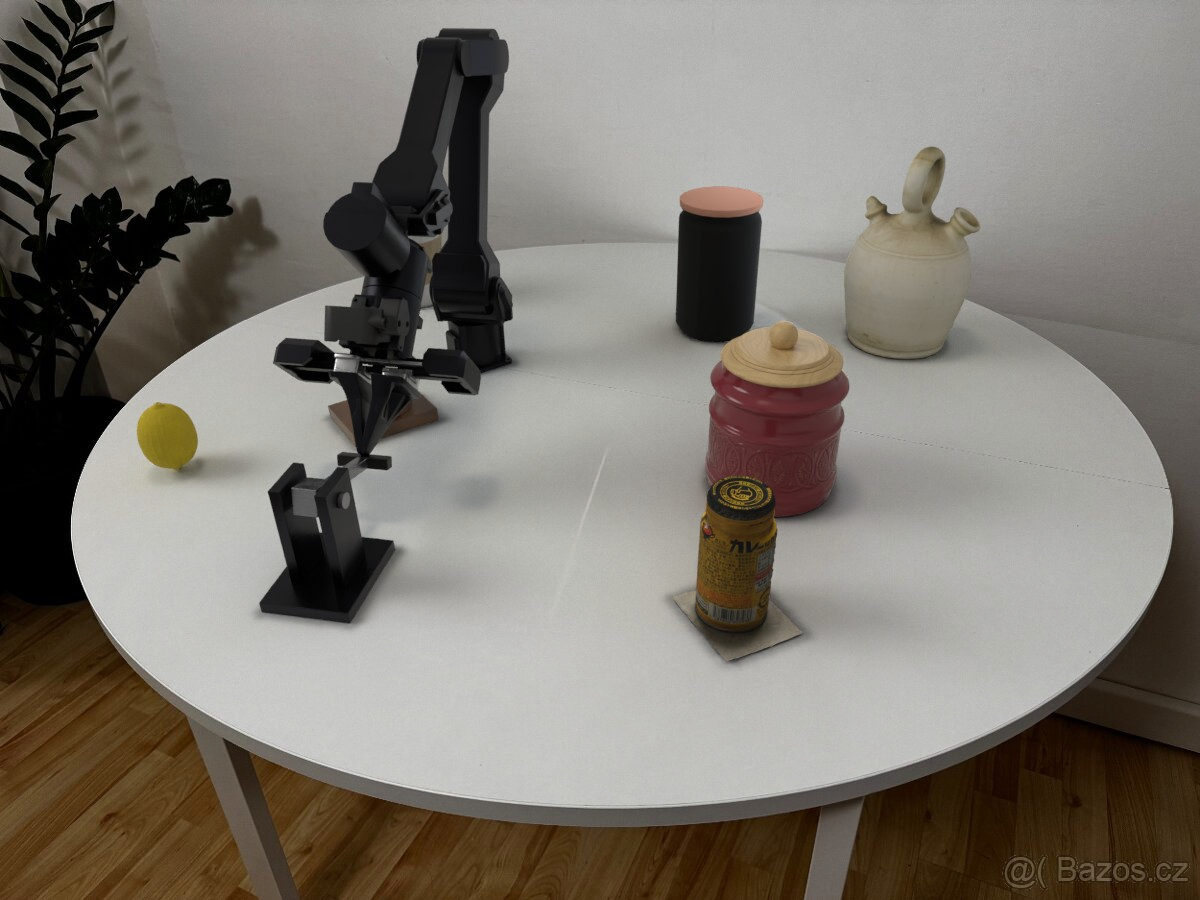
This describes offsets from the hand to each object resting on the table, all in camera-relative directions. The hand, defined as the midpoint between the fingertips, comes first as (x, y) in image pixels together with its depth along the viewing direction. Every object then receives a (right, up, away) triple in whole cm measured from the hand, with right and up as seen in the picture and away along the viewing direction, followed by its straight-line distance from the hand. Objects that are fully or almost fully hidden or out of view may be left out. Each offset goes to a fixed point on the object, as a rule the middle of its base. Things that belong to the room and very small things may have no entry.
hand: (362, 454), depth 83 cm
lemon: (-23, -2, +12) cm, 26 cm away
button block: (-3, +4, +20) cm, 20 cm away
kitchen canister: (+39, -3, +8) cm, 40 cm away
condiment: (+33, -14, -9) cm, 37 cm away
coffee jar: (+38, +17, +40) cm, 58 cm away
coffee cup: (-5, +23, +50) cm, 55 cm away
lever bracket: (-2, -11, -4) cm, 12 cm away
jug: (+61, +15, +36) cm, 73 cm away
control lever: (-1, -3, -4) cm, 5 cm away
